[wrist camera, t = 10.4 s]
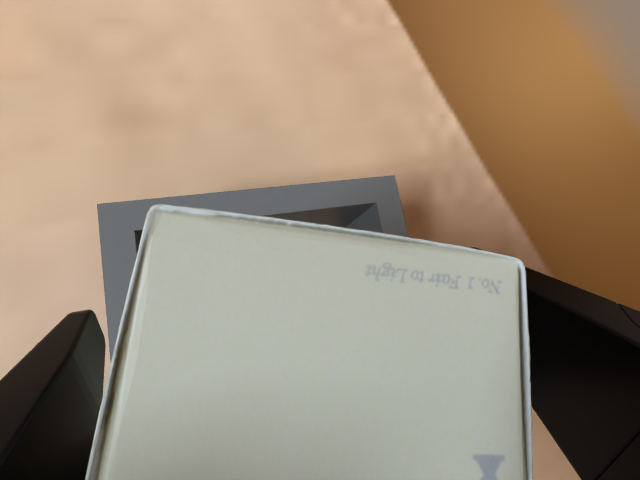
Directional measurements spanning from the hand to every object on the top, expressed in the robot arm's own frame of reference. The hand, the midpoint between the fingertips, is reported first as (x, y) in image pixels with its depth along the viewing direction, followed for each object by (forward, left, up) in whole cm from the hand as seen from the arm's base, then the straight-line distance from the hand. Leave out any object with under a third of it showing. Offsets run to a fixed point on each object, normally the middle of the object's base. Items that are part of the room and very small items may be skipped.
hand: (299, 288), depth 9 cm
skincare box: (-2, 0, -8) cm, 9 cm away
